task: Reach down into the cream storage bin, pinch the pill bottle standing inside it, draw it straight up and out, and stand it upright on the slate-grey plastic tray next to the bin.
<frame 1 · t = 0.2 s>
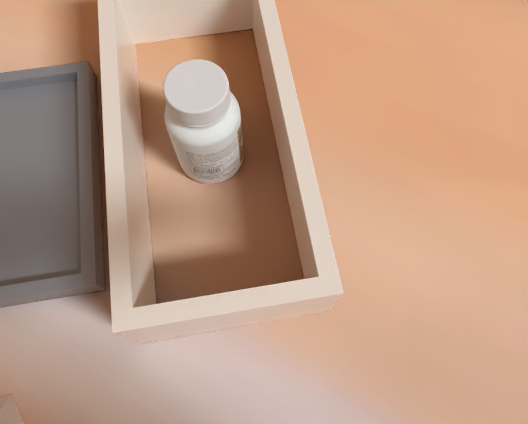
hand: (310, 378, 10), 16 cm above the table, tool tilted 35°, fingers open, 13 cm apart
cream storage bin: (211, 156, 30), on the table
tray: (31, 183, 29), on the table
pill bottle: (212, 157, 30), resting in cream storage bin
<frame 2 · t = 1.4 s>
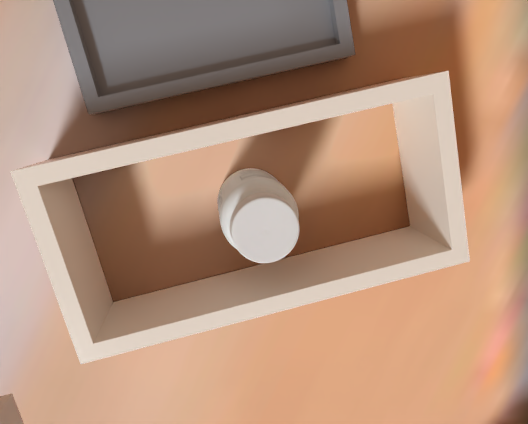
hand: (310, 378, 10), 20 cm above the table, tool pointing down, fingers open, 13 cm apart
cream storage bin: (250, 200, 29), on the table
tray: (205, 8, 26), on the table
pill bottle: (250, 199, 30), resting in cream storage bin
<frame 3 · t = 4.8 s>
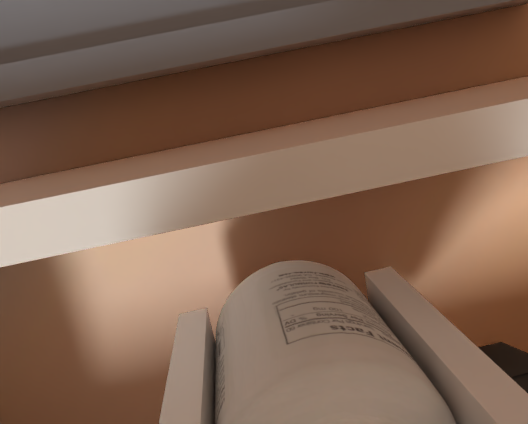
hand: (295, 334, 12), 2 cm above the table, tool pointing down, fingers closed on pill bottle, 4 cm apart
cream storage bin: (297, 301, 14), on the table
pill bottle: (292, 326, 13), point 1 cm above the table, touching gripper
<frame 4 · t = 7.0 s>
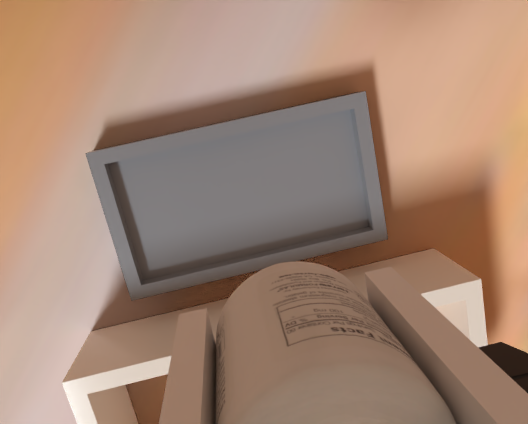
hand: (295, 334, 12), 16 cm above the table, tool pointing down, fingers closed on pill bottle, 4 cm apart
cream storage bin: (282, 361, 30), on the table
tray: (243, 193, 27), on the table
pill bottle: (292, 327, 13), point 15 cm above the table, touching gripper
when the fingers open (1 cm above the table, at t = 9.2 s): pill bottle stays where it is, resting on tray.
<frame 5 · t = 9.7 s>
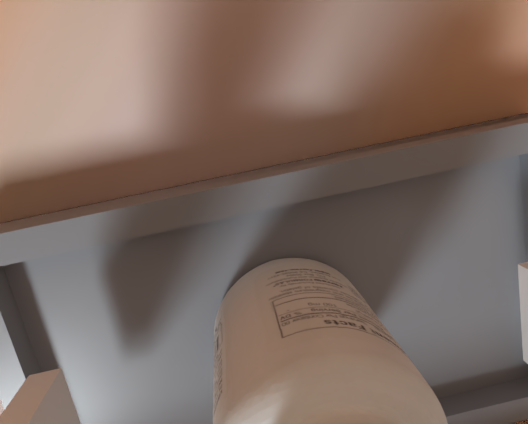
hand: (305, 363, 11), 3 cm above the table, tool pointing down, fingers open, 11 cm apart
tray: (287, 311, 14), on the table
pill bottle: (288, 322, 13), point 1 cm above the table, touching tray
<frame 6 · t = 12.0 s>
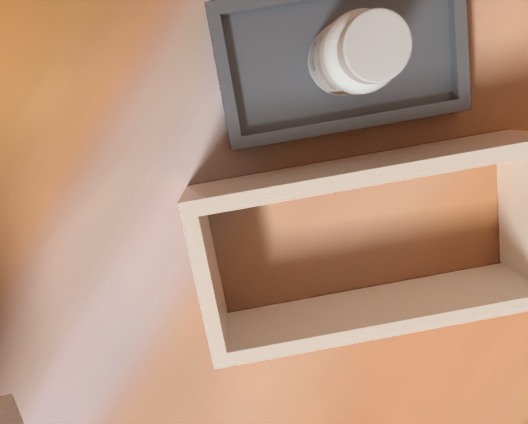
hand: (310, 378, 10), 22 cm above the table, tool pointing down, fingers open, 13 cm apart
cream storage bin: (358, 231, 32), on the table
tray: (338, 60, 30), on the table
pill bottle: (339, 60, 29), point 1 cm above the table, touching tray
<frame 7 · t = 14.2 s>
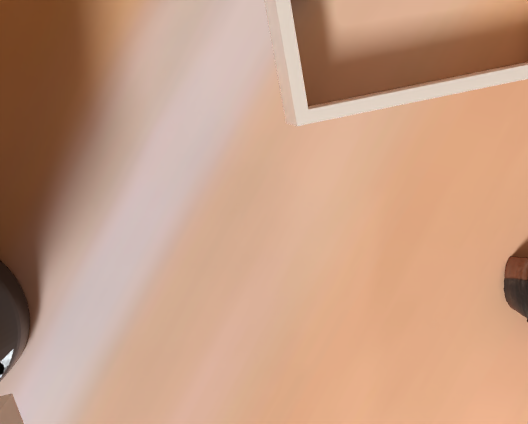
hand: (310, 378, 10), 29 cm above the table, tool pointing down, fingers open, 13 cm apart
cream storage bin: (410, 28, 37), on the table
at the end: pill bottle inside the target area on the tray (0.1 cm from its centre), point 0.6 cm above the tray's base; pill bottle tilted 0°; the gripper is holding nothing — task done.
